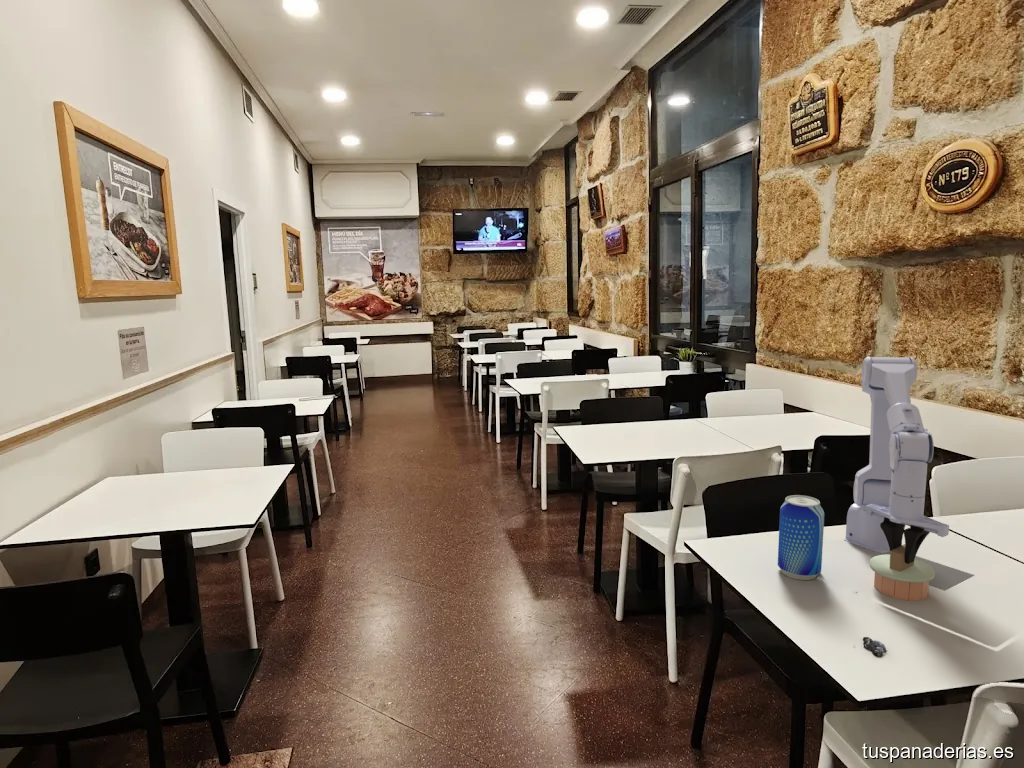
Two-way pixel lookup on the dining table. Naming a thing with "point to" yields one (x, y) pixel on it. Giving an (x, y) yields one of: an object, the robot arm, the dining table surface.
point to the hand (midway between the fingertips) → (902, 559)
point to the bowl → (901, 588)
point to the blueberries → (874, 647)
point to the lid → (901, 567)
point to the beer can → (801, 537)
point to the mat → (945, 575)
